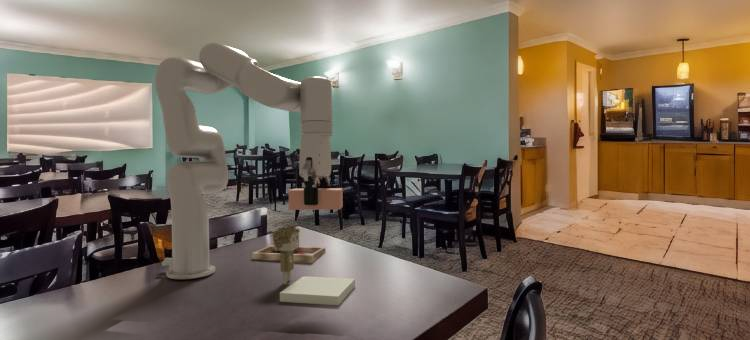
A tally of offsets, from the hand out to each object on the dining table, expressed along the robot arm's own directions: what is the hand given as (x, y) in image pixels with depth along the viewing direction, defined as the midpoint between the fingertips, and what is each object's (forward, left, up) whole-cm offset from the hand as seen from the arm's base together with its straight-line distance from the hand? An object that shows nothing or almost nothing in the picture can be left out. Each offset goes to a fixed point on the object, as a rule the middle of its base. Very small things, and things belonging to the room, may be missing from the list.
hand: (317, 202), depth 99 cm
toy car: (-21, +29, -23) cm, 42 cm away
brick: (0, 0, -1) cm, 1 cm away
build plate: (0, 0, -22) cm, 22 cm away
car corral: (-21, +30, -22) cm, 43 cm away
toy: (-12, +8, -22) cm, 26 cm away
